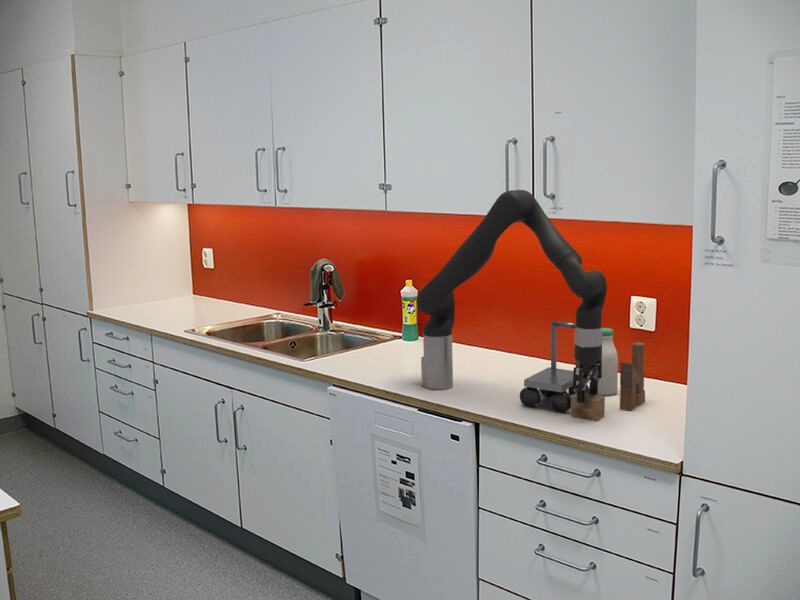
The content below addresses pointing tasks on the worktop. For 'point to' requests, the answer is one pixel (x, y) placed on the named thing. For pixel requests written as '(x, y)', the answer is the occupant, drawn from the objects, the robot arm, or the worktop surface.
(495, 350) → the worktop surface
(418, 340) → the worktop surface
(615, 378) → the milk bottle
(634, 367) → the wooden block
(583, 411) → the block
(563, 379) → the trolley
